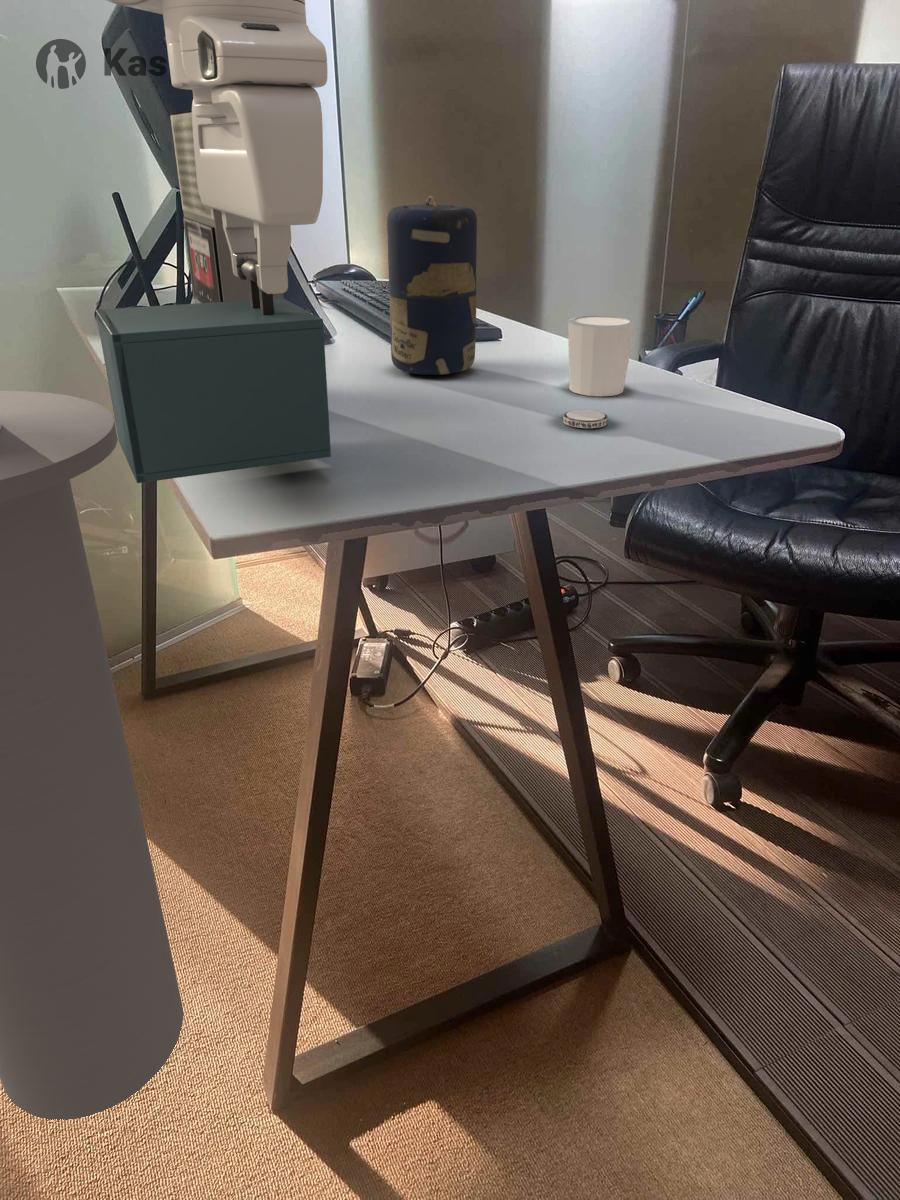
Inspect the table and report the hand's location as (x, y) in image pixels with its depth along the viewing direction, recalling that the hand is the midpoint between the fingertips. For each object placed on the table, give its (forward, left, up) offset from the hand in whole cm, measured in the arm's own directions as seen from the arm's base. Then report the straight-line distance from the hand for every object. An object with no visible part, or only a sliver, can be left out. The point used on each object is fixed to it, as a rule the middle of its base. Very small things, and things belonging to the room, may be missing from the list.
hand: (259, 285), depth 62 cm
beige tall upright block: (+2, +19, -14) cm, 23 cm away
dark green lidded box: (-4, 0, -12) cm, 12 cm away
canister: (+25, +25, -14) cm, 38 cm away
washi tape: (+29, 0, -14) cm, 32 cm away
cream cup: (+37, +10, -14) cm, 41 cm away
